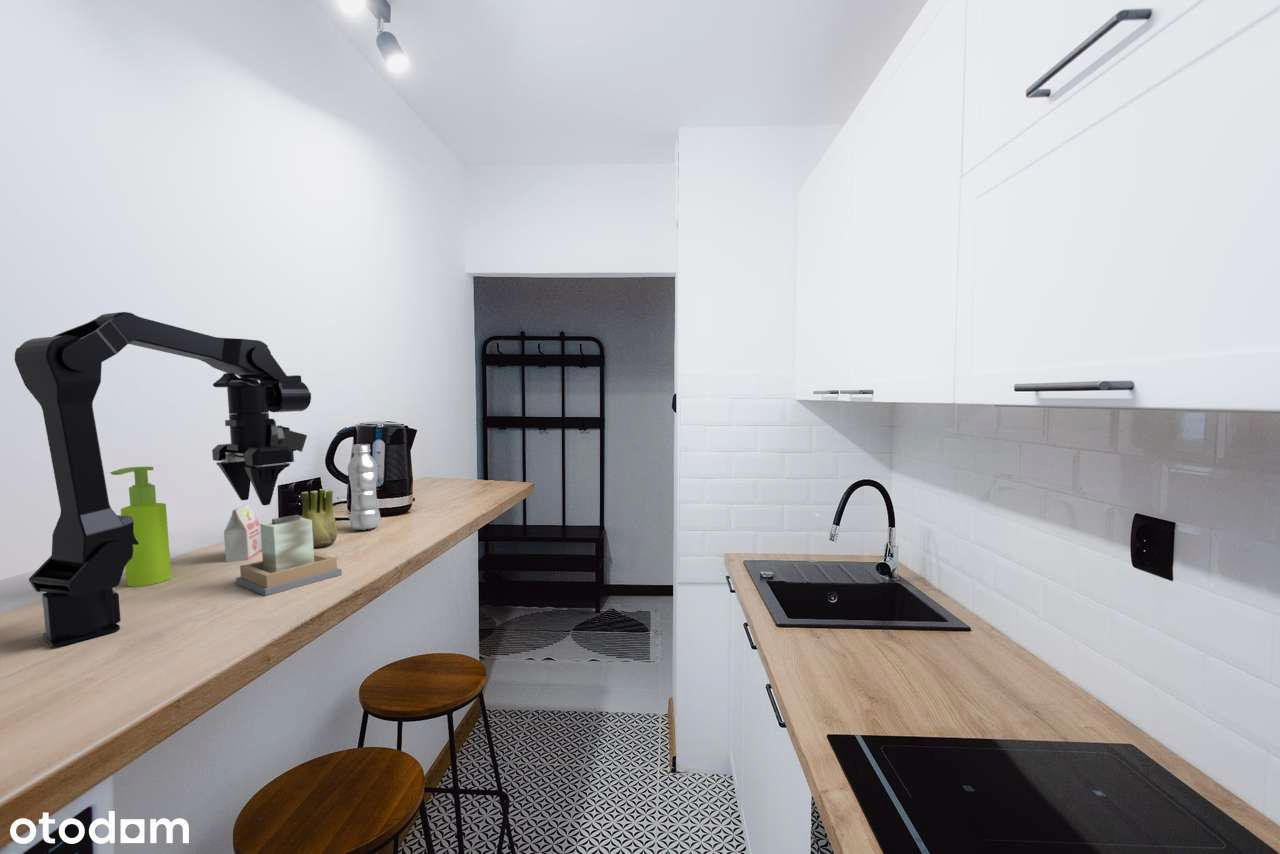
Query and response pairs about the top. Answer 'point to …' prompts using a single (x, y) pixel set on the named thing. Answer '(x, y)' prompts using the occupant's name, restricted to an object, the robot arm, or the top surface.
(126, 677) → the top surface
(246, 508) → the milk carton
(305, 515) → the fennel bulb
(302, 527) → the cabinet block
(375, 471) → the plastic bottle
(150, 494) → the soap dispenser
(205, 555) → the top surface
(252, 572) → the rectangular tray
